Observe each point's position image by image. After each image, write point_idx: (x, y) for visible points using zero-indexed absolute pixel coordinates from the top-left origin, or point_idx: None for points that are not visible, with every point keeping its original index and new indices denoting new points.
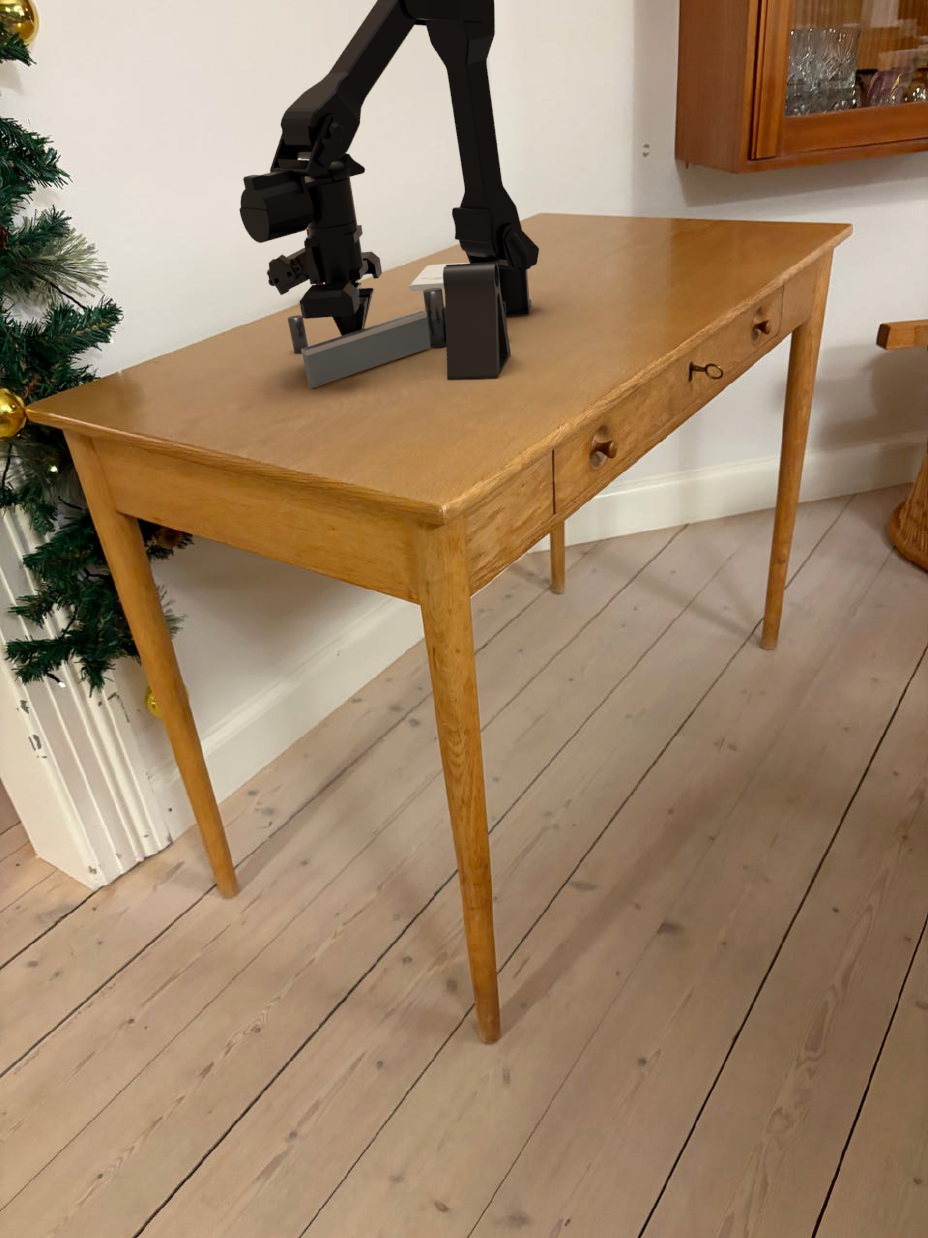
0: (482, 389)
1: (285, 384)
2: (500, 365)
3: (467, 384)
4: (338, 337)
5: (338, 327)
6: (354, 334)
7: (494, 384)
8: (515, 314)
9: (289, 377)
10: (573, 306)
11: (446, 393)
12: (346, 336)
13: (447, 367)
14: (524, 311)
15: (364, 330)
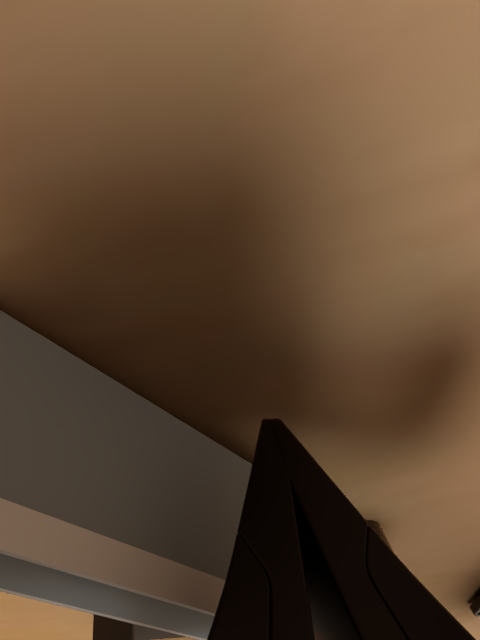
0: (44, 631)
1: (22, 130)
2: (165, 636)
3: (72, 612)
4: (56, 572)
5: (228, 568)
6: (123, 613)
7: (74, 636)
8: (478, 599)
9: (143, 125)
10: (471, 632)
11: (10, 601)
12: (80, 597)
13: (93, 627)
14: (476, 612)
15: (198, 624)
